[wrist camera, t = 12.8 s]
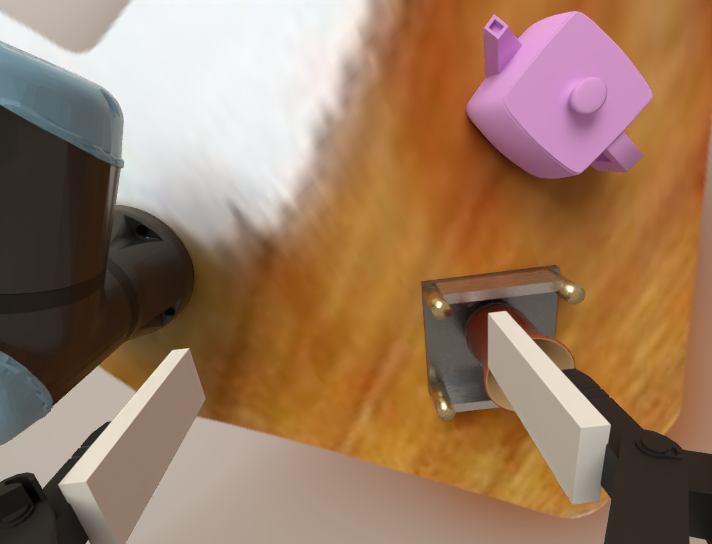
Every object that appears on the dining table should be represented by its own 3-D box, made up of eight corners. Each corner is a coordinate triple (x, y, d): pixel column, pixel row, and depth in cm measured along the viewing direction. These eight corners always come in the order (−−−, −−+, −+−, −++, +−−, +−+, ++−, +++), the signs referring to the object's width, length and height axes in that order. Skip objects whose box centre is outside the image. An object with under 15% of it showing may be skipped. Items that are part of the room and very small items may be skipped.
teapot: (427, 90, 37) (454, 71, 27) (501, -9, 34) (562, -69, 24) (546, 200, 40) (608, 218, 31) (622, 119, 38) (715, 112, 28)
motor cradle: (428, 390, 49) (438, 423, 43) (421, 281, 43) (431, 302, 38) (547, 377, 48) (573, 408, 43) (555, 265, 43) (586, 283, 37)
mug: (443, 315, 44) (469, 364, 34) (509, 279, 42) (556, 320, 33) (484, 385, 47) (519, 447, 38) (547, 354, 46) (599, 410, 36)
